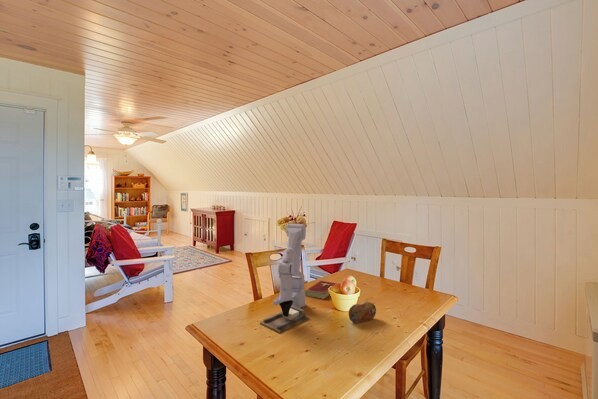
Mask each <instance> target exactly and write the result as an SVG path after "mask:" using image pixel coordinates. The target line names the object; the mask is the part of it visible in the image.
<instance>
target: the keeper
mask: <svg viewBox="0 0 598 399" xmlns="http://www.w3.org/2000/svg"><path fill="white" fill-rule="evenodd" d="M298 316H299V311H296V310H294V309H291V308H290V311H289V314H288V316H287V317H285V316H283V317H285V318H287V319H290V320H292V319H294V318H296V317H298Z"/></svg>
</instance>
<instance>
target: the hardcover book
mask: <svg viewBox="0 0 598 399" xmlns="http://www.w3.org/2000/svg"><path fill="white" fill-rule="evenodd" d="M335 284H337V282H331V281H325V280H319V281H318V282H316V283H315V284H313V285H312V286H310V287H308V288H307V289H305V297H311V298H315V297H316V298H317V299H320V298H322V299H321V300H324V298H325V299H326V298H327V297H329V296H330V295H329V292H328V288H329V287H330V286H334V285H335ZM337 285H338V284H337Z"/></svg>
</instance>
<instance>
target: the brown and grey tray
mask: <svg viewBox="0 0 598 399" xmlns="http://www.w3.org/2000/svg"><path fill="white" fill-rule="evenodd" d="M291 309H294V310H296V311H299V316H298V317H296V318H294V319H292V320H290V319H287V318H285V317H283V312H282V311H280V312H279V313H276V314H274V315H272V316H269V317H267V318H264V319H263V320H261V321H259V324H260V325H262V326H264V327H265V328H268V329H270V330H271V331H274V332H276V333H278V334H281V333H283V332H285V331H287V330H289V329H291V328H293V327H295V326H297V325H299V324H301V323H303V322H305V321H308V320H310V317H309V316H308V315H307V314H306V313H305V309H302V308H297V307H295V306H291Z"/></svg>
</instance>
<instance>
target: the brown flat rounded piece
mask: <svg viewBox="0 0 598 399" xmlns="http://www.w3.org/2000/svg"><path fill="white" fill-rule="evenodd" d="M376 312H377V308H376V305H375V304H374V303H372V302H370V301H365V302H361V303H356V304H353V305H351V306H350V308H349V310H348V318H349V320H350V321H351V322H353V323H354V324H355V325H357V324H361V323H366V322H369V321H372V320H373V319H374V317H375V316H376V314H377V313H376Z"/></svg>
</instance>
